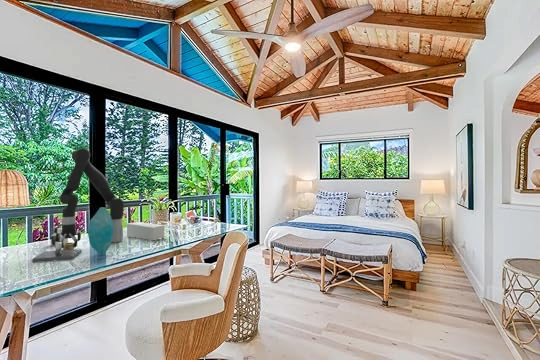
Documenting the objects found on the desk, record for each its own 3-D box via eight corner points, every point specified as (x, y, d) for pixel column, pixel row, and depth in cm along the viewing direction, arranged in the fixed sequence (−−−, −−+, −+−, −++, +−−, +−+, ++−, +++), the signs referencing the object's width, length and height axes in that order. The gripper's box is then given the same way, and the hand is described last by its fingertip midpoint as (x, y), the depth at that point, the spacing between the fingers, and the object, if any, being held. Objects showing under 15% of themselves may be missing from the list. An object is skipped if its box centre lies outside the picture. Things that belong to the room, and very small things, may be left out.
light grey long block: (126, 236, 232) (126, 223, 232) (138, 234, 242) (138, 221, 241) (153, 241, 217) (153, 227, 217) (164, 238, 227) (164, 225, 226)
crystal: (90, 252, 182) (90, 206, 182) (114, 251, 187) (114, 206, 186) (85, 258, 171) (85, 209, 170) (111, 256, 176) (111, 208, 175)
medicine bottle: (50, 244, 200) (51, 228, 200) (61, 242, 207) (61, 226, 207) (57, 245, 198) (58, 229, 198) (68, 243, 205) (68, 227, 205)
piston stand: (81, 252, 183) (81, 238, 183) (73, 259, 168) (73, 244, 168) (44, 254, 176) (44, 240, 176) (32, 262, 161) (32, 246, 161)
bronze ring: (75, 248, 193) (75, 242, 193) (72, 250, 187) (72, 244, 187) (65, 248, 191) (65, 242, 191) (61, 250, 185) (61, 244, 185)
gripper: (82, 221, 195) (82, 245, 195) (58, 222, 190) (58, 247, 190) (79, 223, 188) (79, 248, 188) (53, 224, 183) (53, 249, 183)
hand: (68, 247), depth 189 cm, fingers open, 7 cm apart
